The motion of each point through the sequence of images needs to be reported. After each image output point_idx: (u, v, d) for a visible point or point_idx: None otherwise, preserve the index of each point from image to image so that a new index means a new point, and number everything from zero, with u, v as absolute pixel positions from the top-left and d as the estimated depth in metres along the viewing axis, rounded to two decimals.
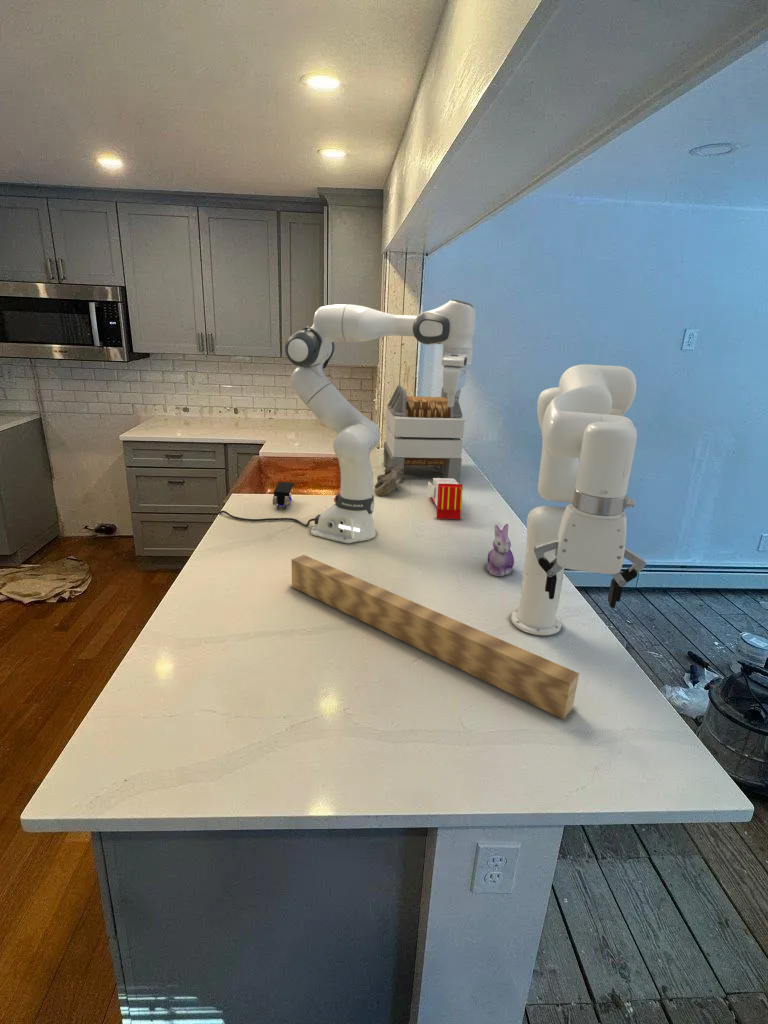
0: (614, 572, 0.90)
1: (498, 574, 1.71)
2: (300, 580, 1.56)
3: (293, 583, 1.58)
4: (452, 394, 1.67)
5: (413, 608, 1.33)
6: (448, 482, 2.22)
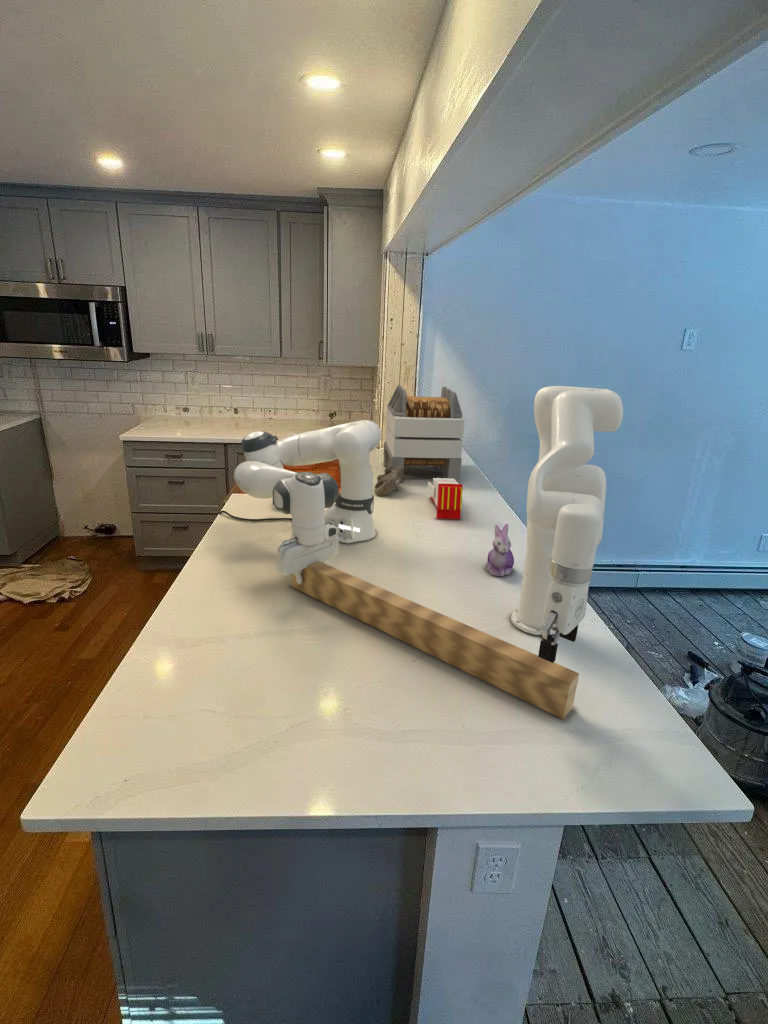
0: None
1: (498, 574, 1.71)
2: None
3: (293, 583, 1.58)
4: None
5: (413, 608, 1.33)
6: (448, 482, 2.22)
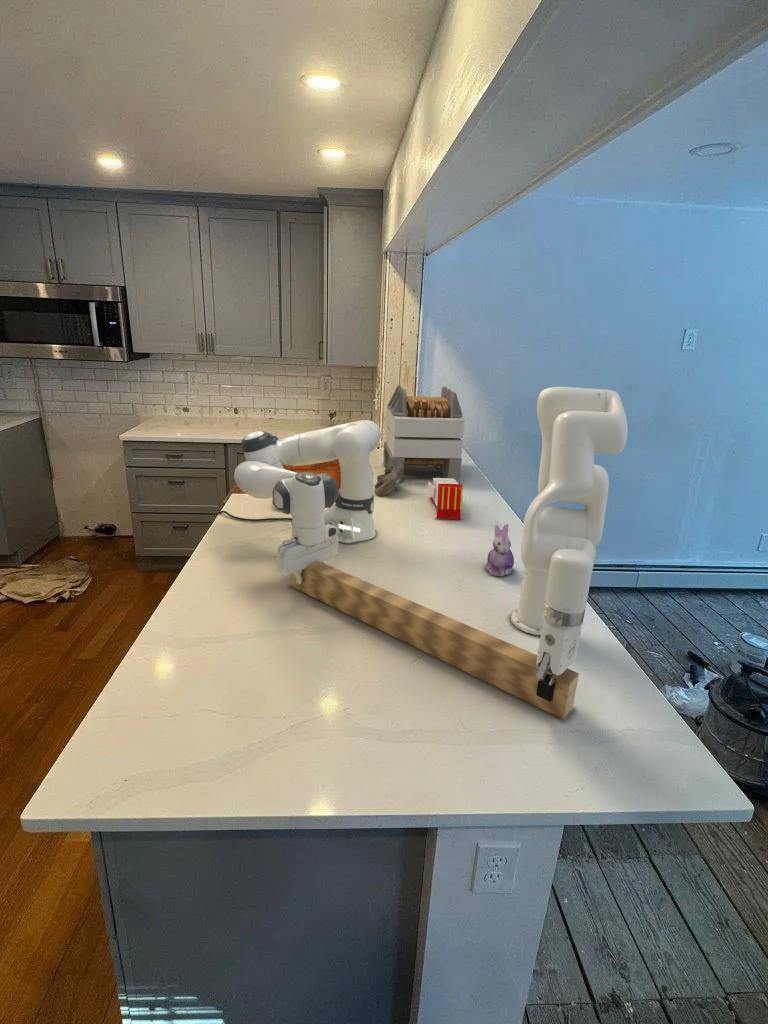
0: (537, 664, 1.11)
1: (498, 574, 1.71)
2: None
3: (293, 583, 1.58)
4: None
5: (413, 608, 1.33)
6: (448, 482, 2.22)
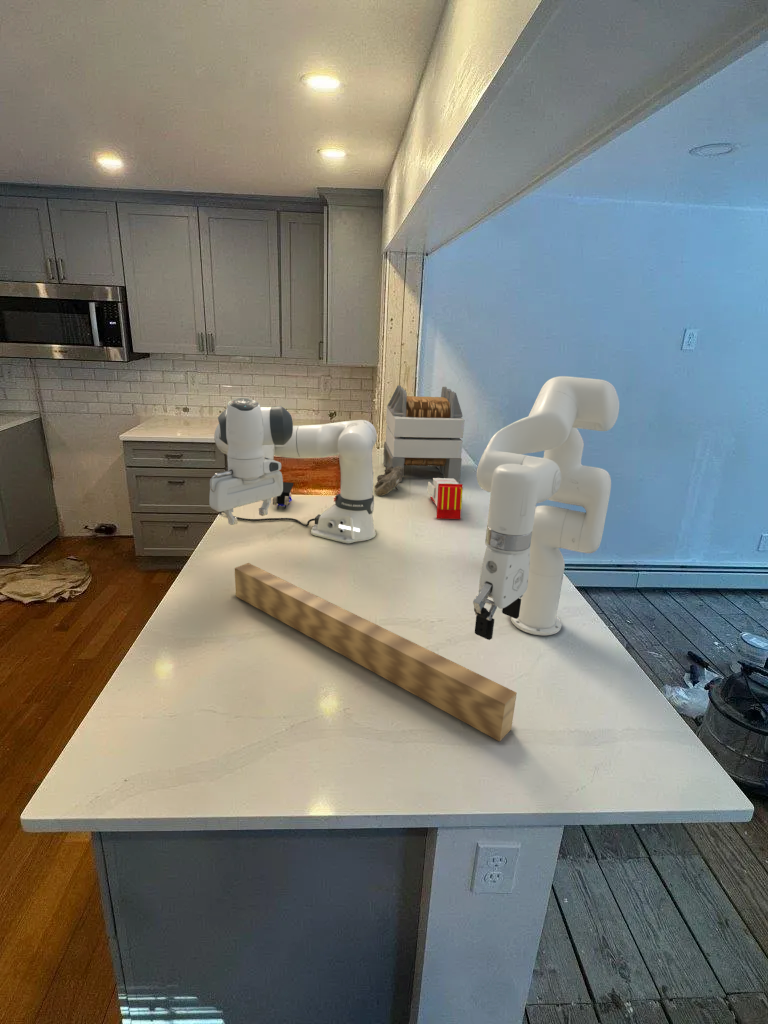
0: None
1: None
2: (244, 590, 1.49)
3: (237, 592, 1.52)
4: None
5: (352, 621, 1.27)
6: (448, 482, 2.22)
